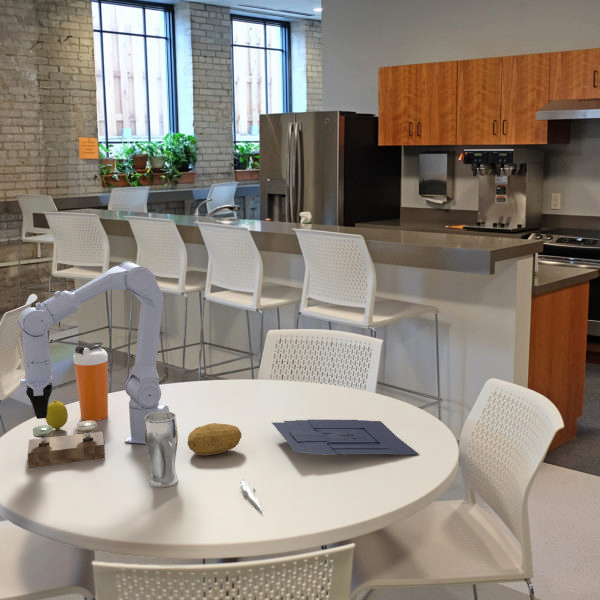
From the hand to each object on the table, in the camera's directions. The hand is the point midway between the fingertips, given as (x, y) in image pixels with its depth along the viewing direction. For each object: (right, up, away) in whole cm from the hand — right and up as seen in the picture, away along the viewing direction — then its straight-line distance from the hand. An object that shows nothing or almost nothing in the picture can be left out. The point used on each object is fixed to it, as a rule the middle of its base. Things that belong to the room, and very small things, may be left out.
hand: (41, 416), depth 188 cm
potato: (+40, -9, +4) cm, 41 cm away
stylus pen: (+50, -14, -21) cm, 56 cm away
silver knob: (+10, -7, +4) cm, 12 cm away
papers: (+70, -8, +8) cm, 71 cm away
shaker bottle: (+5, -5, +31) cm, 31 cm away
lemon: (-3, -7, +21) cm, 22 cm away
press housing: (+5, -10, +3) cm, 12 cm away
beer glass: (+30, -13, -12) cm, 35 cm away
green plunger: (0, -7, +1) cm, 7 cm away
